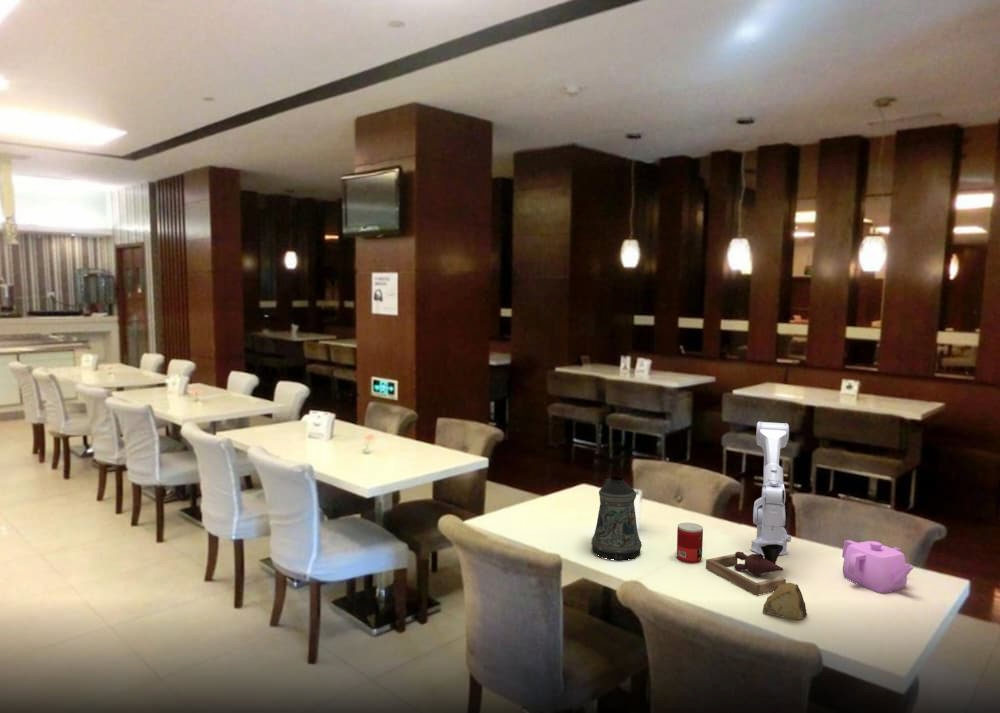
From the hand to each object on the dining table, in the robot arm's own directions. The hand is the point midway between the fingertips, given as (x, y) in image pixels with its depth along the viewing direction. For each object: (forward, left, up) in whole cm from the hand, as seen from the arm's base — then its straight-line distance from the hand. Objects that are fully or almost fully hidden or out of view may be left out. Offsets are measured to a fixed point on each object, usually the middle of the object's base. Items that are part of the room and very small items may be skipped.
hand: (770, 566), depth 210 cm
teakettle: (-24, +18, -2) cm, 30 cm away
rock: (+18, +22, -2) cm, 28 cm away
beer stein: (+35, -35, -2) cm, 49 cm away
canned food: (+16, -19, -2) cm, 25 cm away
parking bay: (+10, 0, -2) cm, 10 cm away
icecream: (+5, 0, -2) cm, 5 cm away
